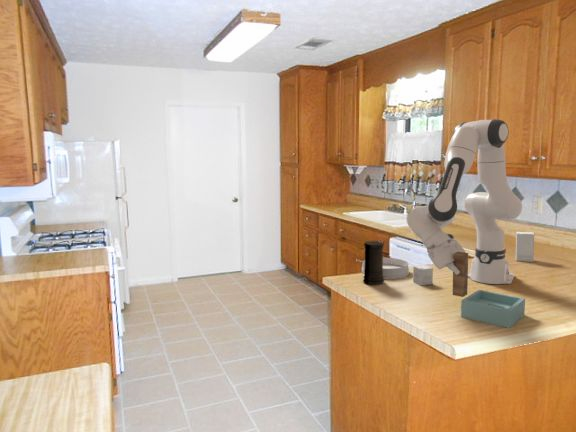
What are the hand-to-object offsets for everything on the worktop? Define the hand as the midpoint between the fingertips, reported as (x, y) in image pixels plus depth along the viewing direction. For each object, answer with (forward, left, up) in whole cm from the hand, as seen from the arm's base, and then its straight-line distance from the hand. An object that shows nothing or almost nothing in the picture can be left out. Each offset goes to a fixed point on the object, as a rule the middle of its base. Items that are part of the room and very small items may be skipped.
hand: (462, 271), depth 170 cm
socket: (+4, +13, -13) cm, 19 cm away
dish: (-22, -46, -13) cm, 52 cm away
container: (-4, -41, -13) cm, 43 cm away
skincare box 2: (-88, -3, -13) cm, 89 cm away
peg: (0, -1, -9) cm, 9 cm away
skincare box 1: (-17, -24, -13) cm, 32 cm away
